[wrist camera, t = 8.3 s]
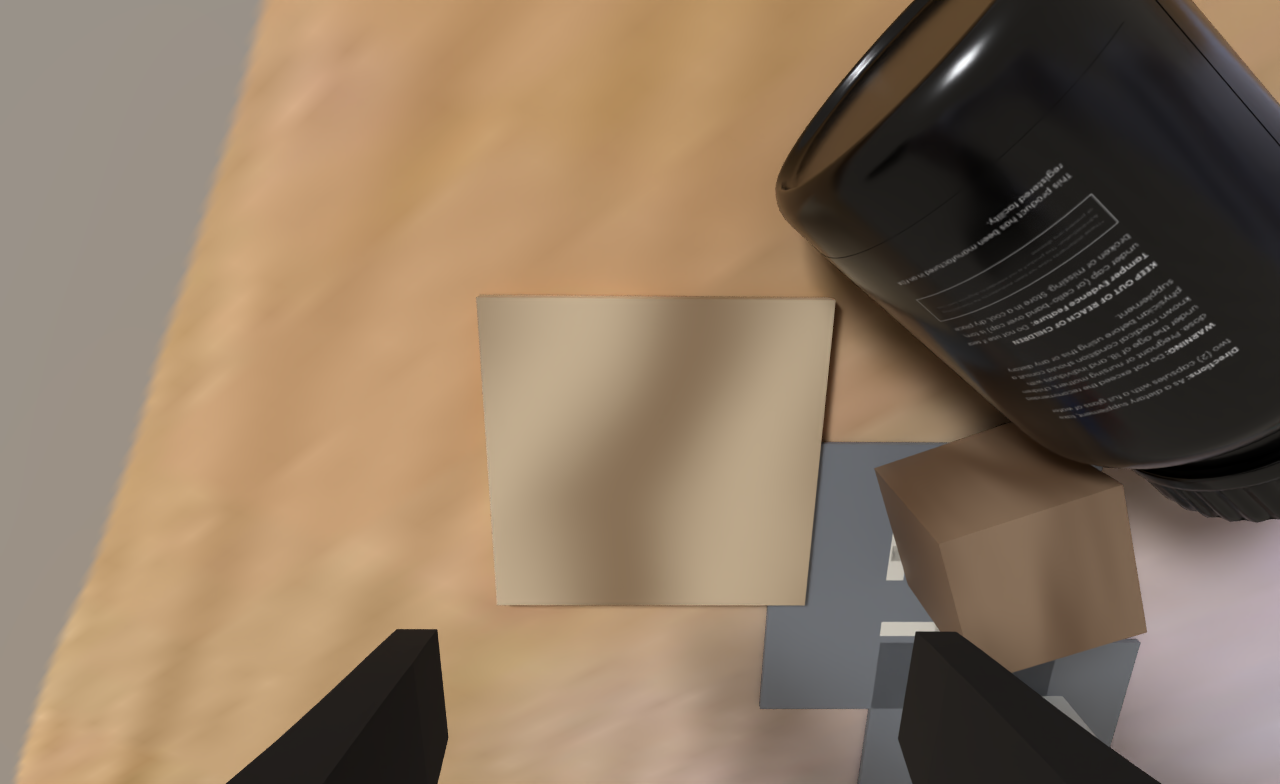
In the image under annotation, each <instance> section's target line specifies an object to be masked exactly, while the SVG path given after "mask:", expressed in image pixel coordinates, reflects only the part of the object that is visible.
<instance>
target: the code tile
mask: <svg viewBox="0 0 1280 784" xmlns="http://www.w3.org/2000/svg"><path fill="white" fill-rule="evenodd" d="M945 444H947V443H931V442H821V450H820V460H819V469H818V479H817V489H816V499H815V509H814V519H813V529H812V538H811V548H810V558H809V568H808V578H807V588H806V598H805V605H767V616H766V628H765V640H764V653H763V665H762V677H761V690H760V702H759V706H760V709H874V708H873V707H871V706H872V704H871V703H875V702H876V701H878V700H877V699H880V698H881V697H880V698H879V697H878V696H880V695H879V694H881V692H882V691H881V690H878V691H877V689H880V688H876V690H875V688H874V685H875V684H876V683H874V682H876V679H878V681H879V678H880V677H879V678H875V677H876V675H877V674H876V670H877V673H878V675H877V677H878V676H881V674H882V672H883V674H882V676H883V677H884V676H885V674H886V676H885V678H883V677H882V676H881V679H880V682H881V680H882V678H883V679H885V681H887V680H888V679H889V678H890V676H891V673H892V671H894V672H895V670H896V668H897V670H896V673H895V674H894V672H893V673H892V674H894V675H893V678H892V676H891V680H892V681H891V680H889V681H888V683H889V684H890V685H891V683H892V682H893V683H892V684H895V685H894V686H893V685H892V686H893V687H892V686H890V687H891V688H893V689H897V690H898V691H899V688H900V687H902V688H903V689H904V688H905V686H904V685H906V684H907V679H908V678H907V677H906V676H907V674H905V672H907V671H909V668H910V667H908V666H909V664H908V666H906V665H907V663H910V662H911V661H910V662H908V660H911V659H909V658H911V656H912V655H911V654H912V653H910V651H911V648H912V646H913V643H914V638H915V632H916V631H938V632H940V631H939V629H938V628H937V626H936V625H935V623H934V622H933V620H932V619H931V618H930V616H929V615H928V613H927V612H926V610H925V609H924V607H923V606H922V604H921V603H920V602H919V600H918V599H917V597H916V596H915V594H914V593H913V591H912V590H911V589H910V587H909V586H908V584H907V580H906V577H905V573H904V570H903V566H902V563H901V559H900V556H899V552H898V549H897V546H896V542H895V539H894V535H893V532H892V528H891V525H890V521H889V518H888V514H887V511H886V508H885V504H884V501H883V497H882V494H881V490H880V487H879V483H878V480H877V476H876V473H875V470H874V468H876V467H879V466H882V465H885V464H888V463H891V462H894V461H897V460H900V459H903V458H906V457H909V456H912V455H915V454H918V453H921V452H924V451H927V450H930V449H933V448H936V447H939V446H942V445H945ZM1092 466H1093V467H1095V468H1097V469H1098V470H1100V471H1102V468H1103V467H1101V466H1095V465H1092ZM880 643H881V645H880ZM884 643H885V645H886V643H888V645H886V646H888V648H889V649H888V648H887V647H886V646H885V645H882V644H884ZM890 643H891V644H890ZM892 643H893V645H894V648H893V646H892V648H893V649H892V648H891V646H890V645H892ZM895 643H896V644H895ZM897 643H898V644H897ZM902 643H903V644H904V645H902V646H903V647H901V648H900V649H899V647H900V645H901V644H902ZM907 643H908V644H907ZM909 643H910V644H911V643H912V645H910V646H909V647H908V645H909ZM906 644H907V645H906ZM896 645H897V646H896ZM880 646H881V647H882V648H884V647H883V646H885V647H886V648H887V649H888V650H890V648H891V651H890V652H892V650H894V649H895V647H896V648H898V649H899V650H900V651H901V652H903V651H904V652H903V653H904V654H903V653H902V654H903V655H902V654H899V653H901V652H900V651H899V650H898V649H895V651H894V653H893V652H892V653H893V654H891V653H890V652H889V651H887V649H886V648H884V649H885V650H884V649H883V650H884V651H883V650H882V648H881V647H880ZM889 646H890V647H889ZM898 646H899V647H898ZM906 646H907V647H908V649H907V648H906ZM904 647H905V649H906V650H907V651H906V650H905V649H904ZM910 647H911V648H910ZM879 648H880V649H881V650H882V651H883V652H885V651H886V652H889V653H888V654H886V655H887V656H888V657H887V656H885V658H884V657H882V656H883V653H882V651H881V650H880V649H879ZM902 649H904V650H903V651H902ZM909 649H910V650H909ZM879 650H880V651H881V653H880V652H879ZM896 650H897V652H896ZM908 650H909V653H910V655H909V653H908ZM912 650H913V648H912ZM886 652H885V653H886ZM898 652H899V653H898ZM879 653H880V654H879ZM885 653H884V655H885ZM895 653H896V654H897V653H898V654H897V655H902V656H905V657H906V654H907V653H908V654H907V657H906V659H908V660H906V659H905V657H900V656H897V655H896V654H895ZM890 654H891V655H890ZM894 654H895V655H896V656H895V659H896V657H898V662H897V663H895V662H896V661H895V659H894V658H891V657H893V655H894ZM878 655H879V656H878ZM880 655H881V656H880ZM908 656H909V657H908ZM886 657H887V659H886ZM899 657H900V658H899ZM878 658H880V659H878ZM881 658H883V659H881ZM890 658H891V659H890ZM901 658H902V659H903V660H902V659H901ZM888 659H889V660H891V661H892V663H894V664H895V666H894V667H895V668H894V667H892V665H893V664H892V665H891V667H892V668H891V667H889V666H890V664H891V663H889V662H890V661H888V663H886V662H884V661H885V660H886V661H887V660H888ZM900 659H901V660H902V661H900ZM878 660H880V661H881V663H880V662H879V663H880V664H882V663H884V664H882V665H881V666H880V664H879V663H878V664H879V665H877V662H878ZM896 660H897V659H896ZM904 660H905V661H904ZM882 661H883V662H882ZM894 661H895V662H894ZM899 661H900V663H901V662H902V663H903V661H904V663H903V664H904V665H903V664H902V665H901V666H900V667H899V665H900V663H899ZM906 661H907V662H906ZM1054 662H1055V660H1053V662H1051V663H1050V661H1049V662H1047V664H1046V663H1044V664H1045V665H1044V667H1045V666H1048V664H1049V666H1050V667H1049V666H1048V668H1049V669H1051V671H1050V670H1049V669H1048V668H1047V667H1045V669H1046V670H1047V671H1046V670H1045V669H1044V667H1042V666H1043V664H1041V665H1042V666H1040V665H1039V667H1040V669H1039V667H1038V665H1036V666H1035V667H1037V668H1038V669H1039V670H1041V668H1043V669H1042V671H1043V670H1044V671H1046V673H1050V672H1051V673H1052V671H1053V668H1051V667H1053V665H1054ZM887 664H888V666H887ZM897 664H899V665H897ZM905 664H906V665H905ZM1050 664H1053V665H1050ZM883 665H884V668H886V667H887V669H886V670H888V668H889V669H890V670H891V669H894V670H891V671H890V670H889V671H888V674H889V675H890V676H889V675H888V674H887V673H885V672H884V671H886V670H885V669H884V668H883V669H882V670H884V671H882V670H881V669H879V668H880V667H881V668H882V666H883ZM885 665H886V667H885ZM897 666H898V667H897ZM902 666H903V667H902ZM904 666H905V667H907V669H906V668H905V667H904ZM878 667H879V668H878ZM901 667H902V668H901ZM1033 667H1034V666H1033ZM1035 667H1034V668H1033V669H1032V668H1031V667H1029V668H1031V669H1032V670H1030V669H1029V668H1028V670H1029V671H1027V672H1028V674H1027V672H1026V669H1027V668H1026V669H1023V671H1020V670H1019V671H1018V672H1020V673H1021V674H1022V675H1023V676H1022V675H1021V674H1020V673H1019V675H1018V678H1019V677H1020V678H1021V677H1022V678H1023V682H1026V683H1027V682H1028V679H1030V678H1029V677H1031V676H1030V675H1029V674H1030V673H1031V674H1032V673H1033V672H1034V669H1035ZM898 668H899V670H900V668H901V672H902V673H903V672H904V673H903V674H901V672H900V671H899V670H898ZM903 668H904V669H906V670H905V671H904V670H903ZM878 670H881V672H878ZM902 670H903V671H902ZM1024 670H1025V672H1026V675H1027V676H1029V677H1027V676H1026V675H1025V677H1026V678H1025V677H1024V674H1025V672H1024ZM1036 670H1037V669H1036ZM1036 670H1035V671H1036ZM1044 671H1043V673H1045V672H1044ZM1048 671H1050V672H1048ZM886 672H887V671H886ZM897 672H898V673H897ZM1016 672H1017V671H1016ZM1022 672H1023V673H1022ZM1038 672H1039V673H1040V671H1038V670H1037V674H1038V675H1041V674H1042V672H1041V673H1040V674H1039V673H1038ZM884 673H885V674H884ZM899 673H900V674H899ZM907 673H908V674H909V672H907ZM1013 673H1014V674H1015V672H1013ZM1035 673H1036V672H1034V673H1033V674H1034V675H1033V676H1032V678H1031V680H1030V681H1029V682H1028V683H1030V684H1032V685H1033V686H1032V687H1033V689H1034V690H1035V688H1036V690H1035V691H1037V693H1038V694H1042V695H1041V696H1044V695H1045V693H1046V692H1047V691H1048V687H1049V683H1050V679H1051V677H1050V676H1051V675H1052V674H1050V676H1048V675H1047V676H1048V677H1047V679H1048V680H1049V681H1048V680H1047V679H1046V680H1045V681H1044V680H1043V679H1045V678H1044V677H1046V676H1045V675H1046V673H1045V674H1042V676H1041V678H1039V679H1038V677H1037V676H1038V675H1036V674H1035ZM896 674H897V675H896ZM1017 674H1018V673H1016V675H1015V676H1017ZM900 675H901V676H902V677H903V676H904V675H905V676H904V677H905V679H906V680H905V681H902V680H903V679H904V678H903V679H902V678H901V676H900ZM1020 675H1021V676H1020ZM1043 675H1044V676H1043ZM887 676H888V677H889V678H888V679H887V680H886V677H887ZM895 676H896V677H897V676H898V678H899V677H900V678H901V679H902V680H901V679H900V678H899V680H901V682H903V683H901V682H900V681H899V680H898V678H897V679H896V677H895ZM1033 677H1034V678H1033ZM1036 677H1037V678H1036ZM1039 677H1040V676H1039ZM1042 677H1043V678H1042ZM894 678H895V680H896V681H895V680H894ZM1020 678H1019V679H1020ZM1035 678H1036V679H1037V680H1035ZM1032 679H1033V680H1035V682H1036V681H1037V684H1040V686H1039V685H1037V684H1036V685H1037V687H1036V685H1035V684H1033V681H1032ZM893 680H894V681H893ZM897 680H898V681H897ZM1021 680H1022V679H1021ZM1025 680H1027V681H1025ZM1039 680H1042V681H1044V682H1046V683H1045V685H1044V683H1043V684H1042V681H1041V683H1040V681H1039ZM878 681H877V682H878ZM882 681H883V682H885V681H884V680H882ZM890 681H891V683H890ZM1031 681H1032V682H1031ZM1038 681H1039V682H1038ZM880 682H879V683H878V684H880V685H881V684H882V685H885V684H883V683H882V682H881V683H880ZM894 682H896V683H897V682H898V685H900V684H899V682H900V683H901V684H902V685H903V686H902V685H901V686H900V687H899V688H898V685H896V683H894ZM1035 682H1034V683H1035ZM1048 682H1049V683H1048ZM885 683H886V682H885ZM888 683H887V684H888ZM904 683H905V684H904ZM1028 683H1027V685H1028ZM887 684H886V685H885V687H886V688H888V686H889V684H888V686H887ZM1030 684H1029V685H1030ZM1041 684H1042V685H1041ZM1047 684H1048V686H1047ZM876 685H877V684H876ZM880 685H877V687H880ZM1034 685H1035V686H1034ZM1043 685H1044V686H1045V687H1046V688H1045V687H1044V686H1043ZM895 686H896V687H897V688H896V687H895ZM906 686H907V685H906ZM1030 686H1031V685H1030ZM1030 686H1029V687H1030ZM875 687H876V686H875ZM882 687H883V686H881V689H882V690H884V691H883V693H884V692H885V690H886V691H887V690H889V689H885V687H883V688H882ZM1038 687H1039V688H1038ZM1040 687H1041V688H1040ZM1042 687H1043V688H1044V689H1046V690H1043V691H1042V690H1040V689H1043V688H1042ZM902 688H900V690H901V691H902V690H903V689H902ZM893 689H890V690H891V691H892V693H893ZM874 690H875V691H874ZM904 690H906V689H904ZM904 690H903V691H904ZM876 691H877V694H878V695H877V696H876V697H875V698H874V699H873V698H872V696H873V695H875V693H876ZM879 691H880V692H879ZM894 691H895V690H894ZM898 691H896V692H895V694H897V693H898V694H900V693H899V692H901V691H899V692H898ZM1039 691H1040V692H1042V693H1040V692H1039ZM1044 691H1045V693H1044V695H1043V692H1044ZM878 692H879V693H878ZM905 692H906V691H904V693H905ZM883 693H882V694H883ZM886 693H887V694H888V695H890V696H888V695H887V697H889V698H890V697H891V695H894V696H895V697H894V698H893V696H892V698H893V699H894V700H895V698H896V697H897V696H899V695H898V694H897V695H895V694H889V693H890V691H889V693H888V691H887V692H886ZM904 693H902V694H903V695H904ZM902 694H901V695H902ZM883 695H886V694H885V693H884V694H883ZM901 695H900V696H901ZM903 695H902V697H903ZM1046 695H1047V693H1046ZM1046 695H1045V696H1046ZM881 696H882V695H881ZM900 696H899V698H901V699H902V700H901V699H899V700H900V701H903V700H904V698H905V696H904V698H902V697H900ZM883 697H884V698H883ZM883 697H882V699H883V700H882V699H881V701H882V702H883V703H884V701H885V698H886V696H883ZM876 698H877V699H876ZM892 698H891V699H890V700H889V699H888V698H887V699H888V702H889V701H890V703H891V702H892V704H893V705H895V706H897V704H898V702H899V701H897V700H895V701H894V700H893V699H892ZM897 698H898V697H897ZM887 699H886V700H887ZM872 700H873V702H872ZM875 700H876V701H875ZM881 701H879V702H876V703H877V704H879V703H880V704H881V703H882V702H881ZM893 701H894V703H893ZM888 702H887V704H885V703H886V701H885V703H884V704H885V705H884V704H883V703H882V706H884V707H885V708H886V707H887V709H889V708H890V709H892V708H894V706H893V705H892V704H891V705H892V706H893V707H892V706H891V707H889V705H888V704H890V703H888ZM876 703H875V704H873V706H876V705H877V704H876ZM895 703H896V704H895ZM902 703H904V702H902ZM902 703H901V705H900V702H899V707H898V708H897V709H903V705H902ZM880 704H879V706H881V705H880ZM879 706H878V705H877V708H879ZM882 706H881V707H880V708H879V709H881V708H882ZM901 706H902V707H901ZM884 707H883V708H882V709H885V708H884ZM888 707H889V708H888ZM900 707H901V708H900ZM875 709H876V707H875ZM895 709H896V707H895Z"/></svg>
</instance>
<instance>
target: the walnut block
mask: <svg viewBox="0 0 1280 784" xmlns="http://www.w3.org/2000/svg"><path fill="white" fill-rule="evenodd" d="M874 470H875V473H876V476H877V480H878V483H879V487H880V490H881V494H882V497H883V501H884V504H885V508H886V511H887V514H888V518H889V521H890V525H891V528H892V532H893V535H894V539H895V542H896V546H897V549H898V552H899V556H900V559H901V563H902V566H903V570H904V573H905V577H906V580H907V584H908V586H909V587H910V589H911V590H912V591H913V593H914V594H915V596H916V597H917V599H918V600H919V602H920V603H921V604H922V606H923V607H924V609H925V610H926V612H927V613H928V615H929V616H930V618H931V619H932V620H933V622H934V623H935V625H936V626H937V628H938V629H939V631H940V632H957V633H959V634H960V635H962V636H963V637H964V638H966V639H967V640H969V641H970V642H971V643H973V644H974V645H976V646H977V647H978V648H980V649H981V650H982V651H984V652H985V653H986V654H988V655H989V656H990V657H991V658H993V659H994V660H995V661H997V662H998V663H999V664H1001V665H1002V666H1003V667H1005V668H1006V669H1007V670H1008V671H1010V672H1011V673H1013V672H1016V671H1019V670H1023V669H1026V668H1029V667H1033V666H1036V665H1039V664H1043V663H1046V662H1049V661H1053V660H1056V659H1059V658H1063V657H1066V656H1069V655H1073V654H1076V653H1079V652H1083V651H1086V650H1089V649H1093V648H1096V647H1099V646H1103V645H1106V644H1109V643H1113V642H1116V641H1119V640H1123V639H1126V638H1129V637H1133V636H1136V635H1139V634H1143V633H1146V632H1147V629H1146V623H1145V617H1144V610H1143V604H1142V598H1141V592H1140V586H1139V580H1138V574H1137V568H1136V561H1135V555H1134V549H1133V543H1132V537H1131V531H1130V525H1129V518H1128V512H1127V506H1126V500H1125V494H1124V488H1123V484H1121V483H1120V482H1118V481H1116V480H1115V479H1113V478H1111V477H1110V476H1108V475H1106V474H1105V473H1103V472H1102V471H1100V470H1098V469H1097V468H1095V467H1093V466H1092V465H1090V464H1085V463H1081V462H1078V461H1074V460H1071V459H1067V458H1065V457H1063V456H1060V455H1058V454H1055V453H1053V452H1051V451H1050V450H1048V449H1046V448H1044V447H1043V446H1041V445H1040V444H1038V443H1037V442H1036V441H1034V440H1033V439H1032V438H1031V437H1029V436H1028V435H1027V434H1025V433H1024V432H1023V431H1022V430H1020V429H1019V428H1018V427H1017V426H1016V425H1015V424H1013V423H1012V422H1010V423H1007V424H1004V425H1001V426H998V427H995V428H992V429H989V430H986V431H983V432H980V433H977V434H974V435H971V436H968V437H965V438H962V439H959V440H956V441H953V442H950V443H947V444H945V445H942V446H939V447H936V448H933V449H930V450H927V451H924V452H921V453H918V454H915V455H912V456H909V457H906V458H903V459H900V460H897V461H894V462H891V463H888V464H885V465H882V466H879V467H876V468H874Z"/></svg>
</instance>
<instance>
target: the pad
mask: <svg viewBox="0 0 1280 784" xmlns="http://www.w3.org/2000/svg"><path fill="white" fill-rule="evenodd" d="M476 301H477V316H478V331H479V345H480V360H481V375H482V390H483V405H484V420H485V434H486V449H487V464H488V479H489V494H490V509H491V523H492V538H493V553H494V568H495V583H496V598H497V605H805V598H806V588H807V578H808V568H809V558H810V548H811V538H812V529H813V519H814V509H815V499H816V489H817V479H818V469H819V460H820V450H821V440H822V430H823V420H824V410H825V400H826V391H827V381H828V371H829V361H830V351H831V341H832V332H833V322H834V312H835V302H836V300H835V299H833V298H831V297H704V296H572V295H479V296H478V297H476Z"/></svg>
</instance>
